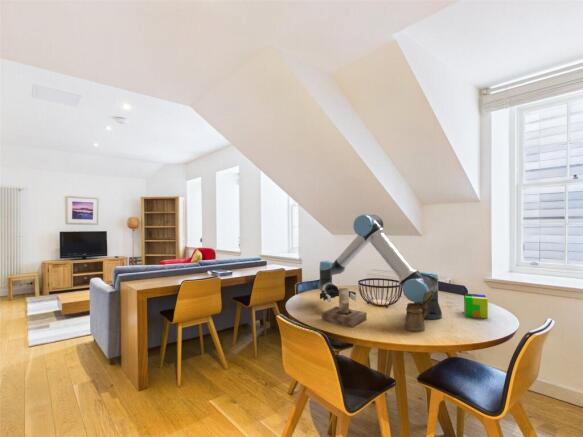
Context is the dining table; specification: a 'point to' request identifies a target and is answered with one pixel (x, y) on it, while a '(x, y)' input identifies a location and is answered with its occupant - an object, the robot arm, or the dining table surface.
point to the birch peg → (344, 301)
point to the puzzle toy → (475, 305)
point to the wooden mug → (417, 314)
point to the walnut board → (344, 317)
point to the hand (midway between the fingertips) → (342, 299)
